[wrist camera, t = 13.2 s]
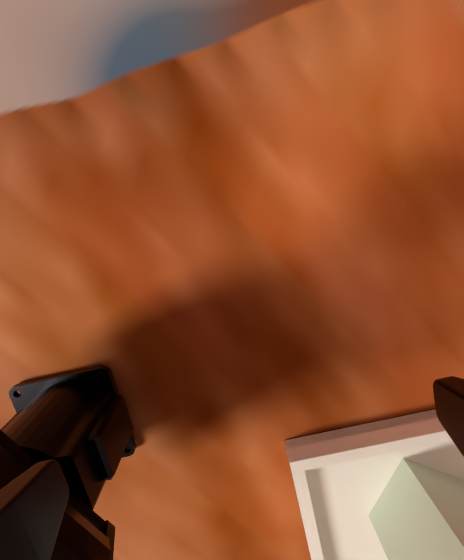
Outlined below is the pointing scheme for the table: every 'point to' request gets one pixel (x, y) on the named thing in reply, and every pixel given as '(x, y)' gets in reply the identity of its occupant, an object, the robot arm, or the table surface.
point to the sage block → (420, 514)
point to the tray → (360, 478)
